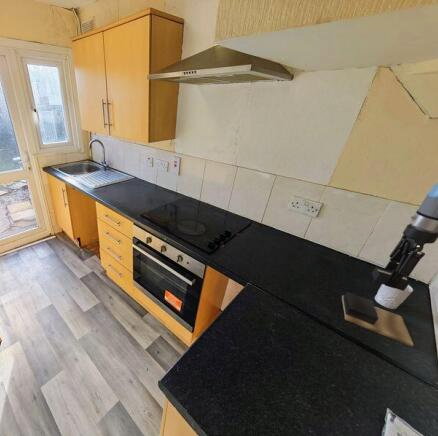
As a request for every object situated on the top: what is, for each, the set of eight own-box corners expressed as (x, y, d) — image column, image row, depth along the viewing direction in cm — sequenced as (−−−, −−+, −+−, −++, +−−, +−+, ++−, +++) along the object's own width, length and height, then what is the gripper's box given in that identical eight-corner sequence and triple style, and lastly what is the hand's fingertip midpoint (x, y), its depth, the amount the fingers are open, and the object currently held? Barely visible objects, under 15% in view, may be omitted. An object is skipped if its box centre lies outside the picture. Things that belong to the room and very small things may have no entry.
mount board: (400, 318, 86) (406, 309, 84) (412, 346, 75) (420, 338, 73) (341, 296, 95) (346, 288, 93) (345, 319, 84) (350, 311, 82)
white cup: (402, 307, 91) (417, 289, 86) (392, 312, 88) (406, 294, 84) (379, 293, 97) (391, 275, 93) (368, 298, 95) (380, 280, 90)
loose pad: (399, 281, 86) (404, 274, 84) (403, 291, 81) (409, 283, 80) (371, 273, 90) (376, 266, 88) (374, 281, 85) (379, 274, 84)
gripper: (401, 215, 84) (370, 264, 94) (417, 236, 70) (379, 291, 80) (430, 221, 80) (394, 272, 91) (453, 244, 66) (408, 301, 76)
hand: (387, 281), depth 85 cm, fingers closed on loose pad, 6 cm apart
